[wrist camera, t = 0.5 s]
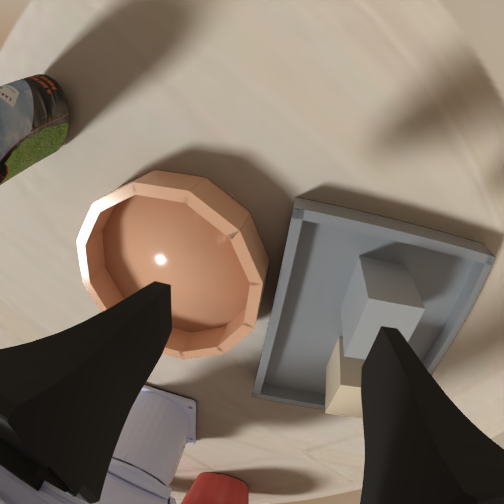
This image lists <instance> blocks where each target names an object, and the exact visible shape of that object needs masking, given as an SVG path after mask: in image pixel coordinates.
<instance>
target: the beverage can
mask: <svg viewBox="0 0 504 504" xmlns="http://www.w3.org/2000/svg"><path fill="white" fill-rule="evenodd" d="M68 127H69V111H68V105H67V101H66V98H65V95H64V93H63V91H62V89H61V87H60V86H59V85H58V83H57V82H56V81H55V80H54V79H52V78H51V77H49V76H47V75H43V74H38V75H34V76H31V77H27V78H24V79H21V80H18V81H14V82H11V83H8V84H5V85H2V86H0V185H1V184H3V183H4V182H6V181H7V180H9V179H10V178H12V177H14V176H15V175H17V174H18V173H20V172H22V171H23V170H25V169H27V168H28V167H30V166H32V165H33V164H35V163H37V162H39V161H40V160H42V159H44V158H46V157H47V156H49V155H51V154H53V153H54V152H56V151H57V150H58V149H59V148H60V147H61V146H62V144H63V143H64V141H65V139H66V136H67V132H68Z"/></svg>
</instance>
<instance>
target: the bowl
mask: <svg viewBox="0 0 504 504" xmlns="http://www.w3.org/2000/svg"><path fill="white" fill-rule="evenodd" d="M77 248H78V255H79V262H80V269H81V275H82V281H83V284H84V285H85V287H86V289H87V290H88V292H89V294H90V295H91V297H92V298H93V300H94V302H95V303H96V305H97V306H98V308H99V309H100V311H101V312H103V311H105V310H107V309H109V308H110V307H112V306H114V305H115V304H117V303H119V302H120V301H122V300H124V299H125V298H127V297H129V296H130V295H132V294H134V293H135V292H137V291H139V290H140V289H142V288H144V287H145V286H147V285H149V284H150V283H152V282H154V281H157V282H161V283H165V284H169V285H171V310H172V331H171V334H170V336H169V339H168V341H167V344H166V346H165V348H164V351H163V353H164V354H167V355H171V356H174V357H178V358H181V359H190V358H198V357H205V356H212V355H219V354H225V353H226V352H227V351H228V350H229V349H231V348H232V347H233V346H234V345H235V344H237V343H238V342H239V341H240V340H241V339H243V338H244V337H245V336H246V335H247V334H248V333H250V332H251V331H252V330H253V329H254V328H255V324H256V321H257V317H258V313H259V309H260V305H261V301H262V296H263V291H264V286H265V281H266V275H267V270H268V265H269V257H268V255H267V252H266V250H265V248H264V245H263V243H262V240H261V238H260V236H259V233H258V231H257V228H256V226H255V224H254V221H253V219H252V216H251V214H250V212H249V211H248V210H246V209H245V208H244V207H243V206H241V205H240V204H239V203H238V202H236V201H235V200H234V199H233V198H231V197H230V196H229V195H228V194H226V193H225V192H224V191H222V190H221V189H220V188H219V187H217V186H216V185H215V184H214V183H212V182H211V181H210V180H208V179H207V178H205V177H200V176H194V175H187V174H180V173H174V172H167V171H159V170H153V171H151V172H149V173H147V174H145V175H143V176H141V177H139V178H137V179H135V180H133V181H131V182H129V183H127V184H125V185H123V186H121V187H119V188H117V189H116V190H114V191H112V192H110V193H109V194H107V195H105V196H104V197H102V198H100V199H98V200H97V201H95V202H93V203H92V206H91V208H90V210H89V212H88V215H87V217H86V219H85V221H84V224H83V226H82V228H81V231H80V233H79V236H78V238H77Z"/></svg>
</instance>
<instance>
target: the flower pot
mask: <svg viewBox="0 0 504 504" xmlns="http://www.w3.org/2000/svg"><path fill="white" fill-rule="evenodd" d="M181 504H248V486H247V485H246V484H245V483H244V482H242V481H240V480H238V479H236V478H233V477H231V476H227V475H223V474H216V473H201V474H199V475H198V476H197V478H196V480H195V481H194V483H193V485H192V486H191V488H190V489H189V491H188V493H187V494H186V496H185V498H184V499H183V501H182V503H181Z"/></svg>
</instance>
